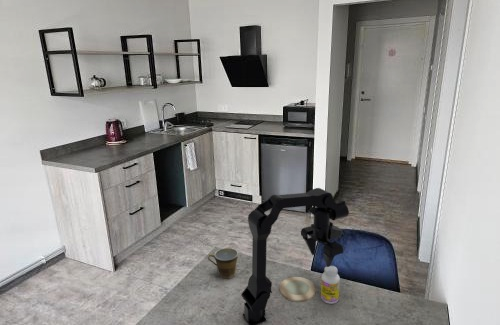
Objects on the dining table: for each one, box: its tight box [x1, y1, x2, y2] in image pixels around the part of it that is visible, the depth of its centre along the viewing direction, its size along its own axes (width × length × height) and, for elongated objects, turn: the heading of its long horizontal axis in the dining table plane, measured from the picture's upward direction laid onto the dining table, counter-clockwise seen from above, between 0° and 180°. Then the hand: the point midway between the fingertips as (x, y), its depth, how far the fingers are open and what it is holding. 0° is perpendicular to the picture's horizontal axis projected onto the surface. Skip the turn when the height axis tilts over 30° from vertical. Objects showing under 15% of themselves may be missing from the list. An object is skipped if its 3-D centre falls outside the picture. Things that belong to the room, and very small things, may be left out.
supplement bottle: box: [320, 265, 341, 305], centre depth 124 cm, size 7×7×13 cm
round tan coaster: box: [279, 276, 316, 303], centre depth 131 cm, size 14×14×1 cm
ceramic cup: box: [207, 247, 239, 280], centre depth 142 cm, size 13×10×10 cm
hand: (320, 260), depth 124 cm, fingers open, 9 cm apart
